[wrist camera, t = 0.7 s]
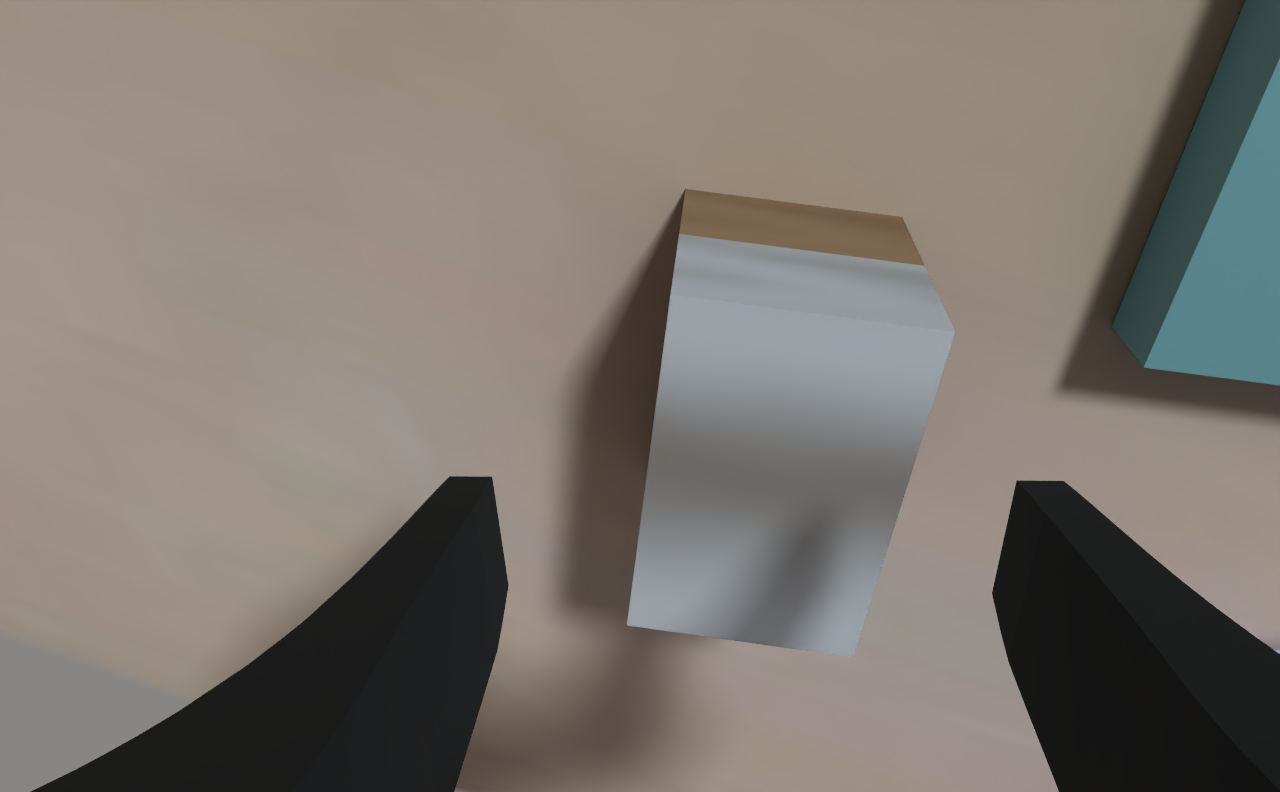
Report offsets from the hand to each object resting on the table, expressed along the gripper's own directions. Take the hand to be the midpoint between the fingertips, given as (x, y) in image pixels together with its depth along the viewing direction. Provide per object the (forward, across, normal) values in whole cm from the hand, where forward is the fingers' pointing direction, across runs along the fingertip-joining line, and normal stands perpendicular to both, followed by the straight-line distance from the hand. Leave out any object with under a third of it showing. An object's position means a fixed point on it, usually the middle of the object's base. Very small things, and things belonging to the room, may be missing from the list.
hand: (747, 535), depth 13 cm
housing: (+10, -1, +3) cm, 11 cm away
